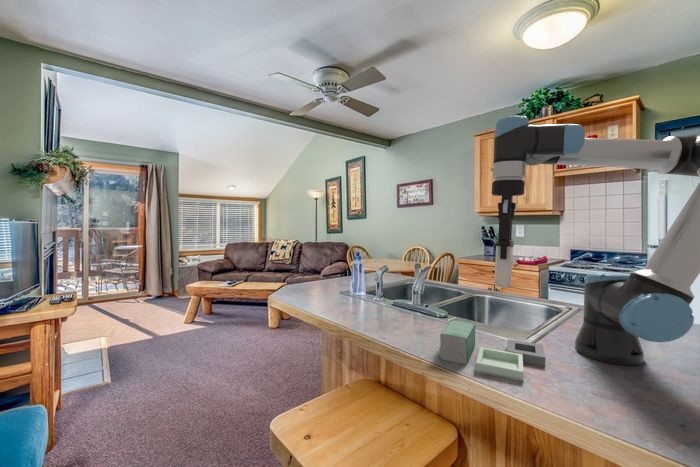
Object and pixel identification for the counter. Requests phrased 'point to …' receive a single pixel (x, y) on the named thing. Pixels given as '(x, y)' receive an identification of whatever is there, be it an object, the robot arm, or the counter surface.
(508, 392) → the counter surface
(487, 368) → the tray
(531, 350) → the holder
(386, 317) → the counter surface
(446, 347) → the box
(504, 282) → the block
